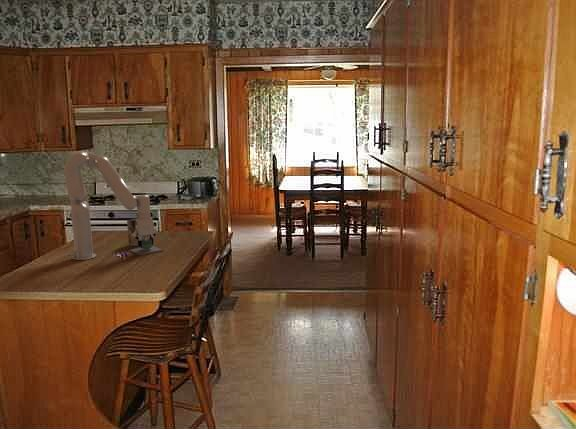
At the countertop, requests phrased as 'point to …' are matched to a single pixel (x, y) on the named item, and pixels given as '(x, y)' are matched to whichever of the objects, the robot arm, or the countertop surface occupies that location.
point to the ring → (146, 244)
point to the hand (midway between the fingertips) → (145, 245)
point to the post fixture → (146, 251)
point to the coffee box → (131, 230)
